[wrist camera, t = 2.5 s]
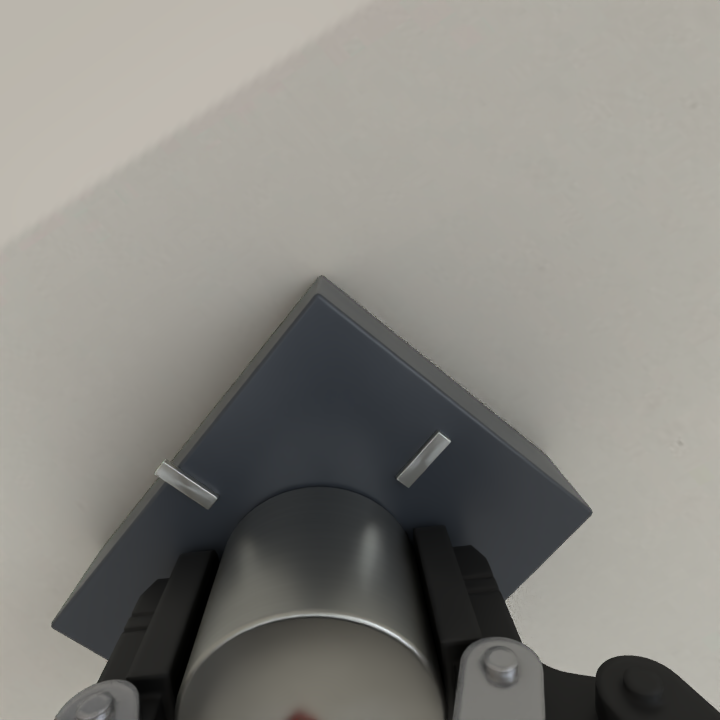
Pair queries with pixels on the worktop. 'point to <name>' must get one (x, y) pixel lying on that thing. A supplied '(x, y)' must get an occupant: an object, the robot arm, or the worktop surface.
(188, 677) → the dial
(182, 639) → the robot arm
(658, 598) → the worktop surface
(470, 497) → the control panel
